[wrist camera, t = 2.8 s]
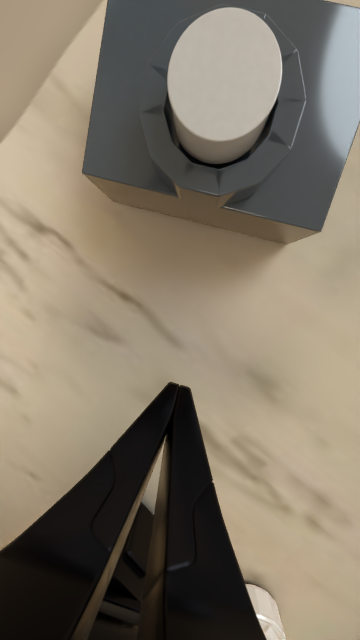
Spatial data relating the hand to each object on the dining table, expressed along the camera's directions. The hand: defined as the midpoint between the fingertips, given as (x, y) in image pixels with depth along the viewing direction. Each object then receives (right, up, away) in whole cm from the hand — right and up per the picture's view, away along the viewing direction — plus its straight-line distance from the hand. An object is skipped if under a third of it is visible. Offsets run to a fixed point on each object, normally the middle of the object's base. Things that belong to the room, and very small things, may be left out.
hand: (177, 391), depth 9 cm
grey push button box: (+3, +15, +8) cm, 17 cm away
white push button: (+2, +12, +2) cm, 13 cm away
